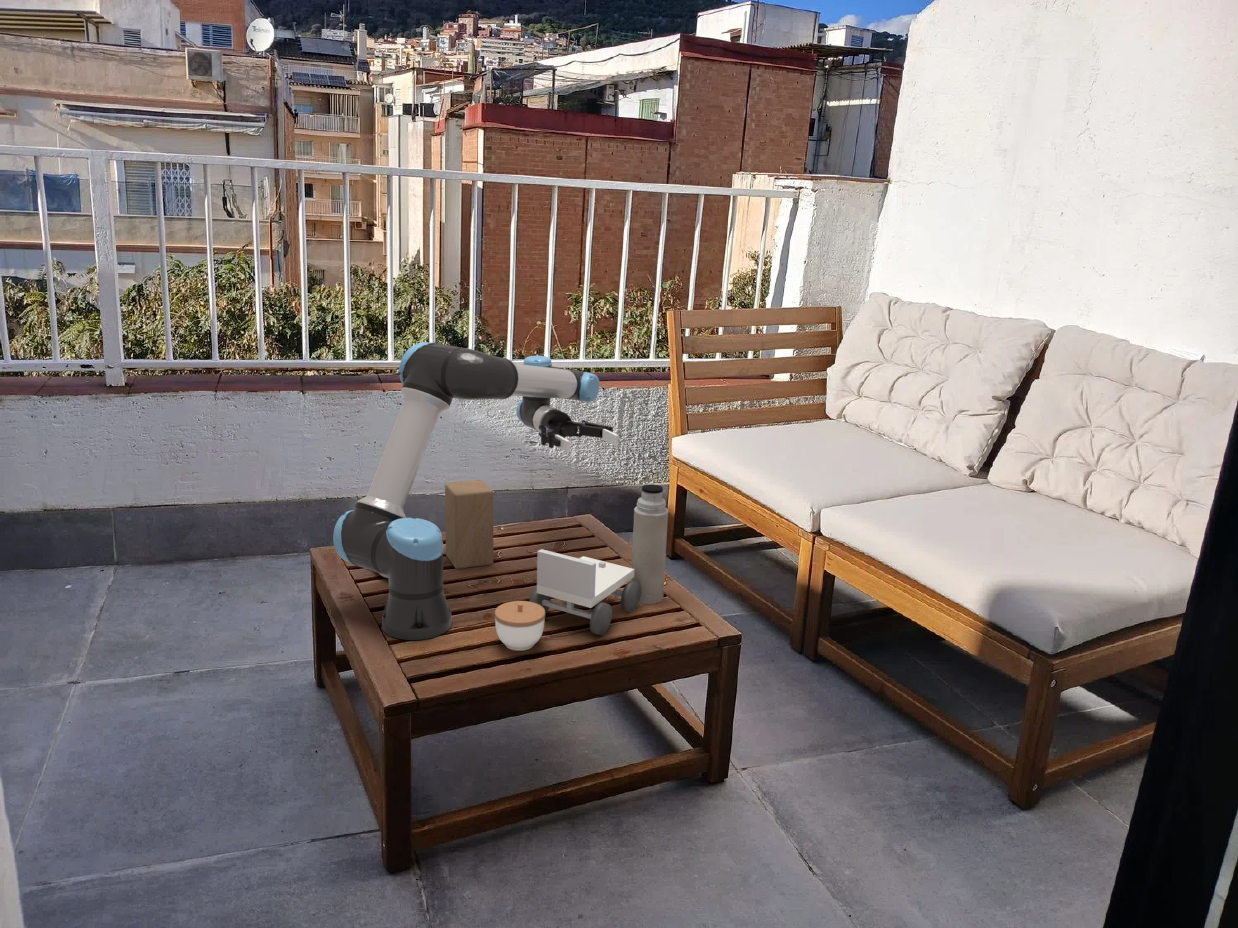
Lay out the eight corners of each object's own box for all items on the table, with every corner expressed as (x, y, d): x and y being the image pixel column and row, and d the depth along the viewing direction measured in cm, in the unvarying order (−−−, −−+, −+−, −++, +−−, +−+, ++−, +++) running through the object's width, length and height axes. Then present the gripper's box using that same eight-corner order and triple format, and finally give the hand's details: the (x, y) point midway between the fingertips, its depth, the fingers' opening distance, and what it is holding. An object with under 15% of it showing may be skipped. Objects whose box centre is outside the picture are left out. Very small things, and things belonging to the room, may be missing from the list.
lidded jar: (484, 645, 208) (484, 605, 206) (516, 628, 217) (516, 589, 214) (523, 661, 203) (523, 620, 200) (554, 642, 211) (555, 602, 208)
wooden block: (445, 555, 255) (444, 482, 249) (482, 550, 259) (482, 478, 253) (455, 569, 246) (454, 494, 240) (493, 564, 250) (493, 490, 244)
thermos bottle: (629, 589, 239) (634, 480, 231) (662, 590, 239) (668, 481, 231) (630, 603, 231) (635, 491, 223) (664, 604, 231) (670, 492, 223)
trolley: (595, 640, 213) (598, 568, 208) (528, 620, 221) (529, 550, 216) (640, 605, 230) (643, 538, 225) (576, 588, 238) (578, 522, 233)
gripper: (593, 432, 262) (635, 452, 245) (509, 442, 250) (547, 464, 233) (594, 404, 260) (637, 423, 243) (509, 413, 248) (547, 434, 230)
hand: (593, 443), depth 238 cm, fingers open, 13 cm apart
